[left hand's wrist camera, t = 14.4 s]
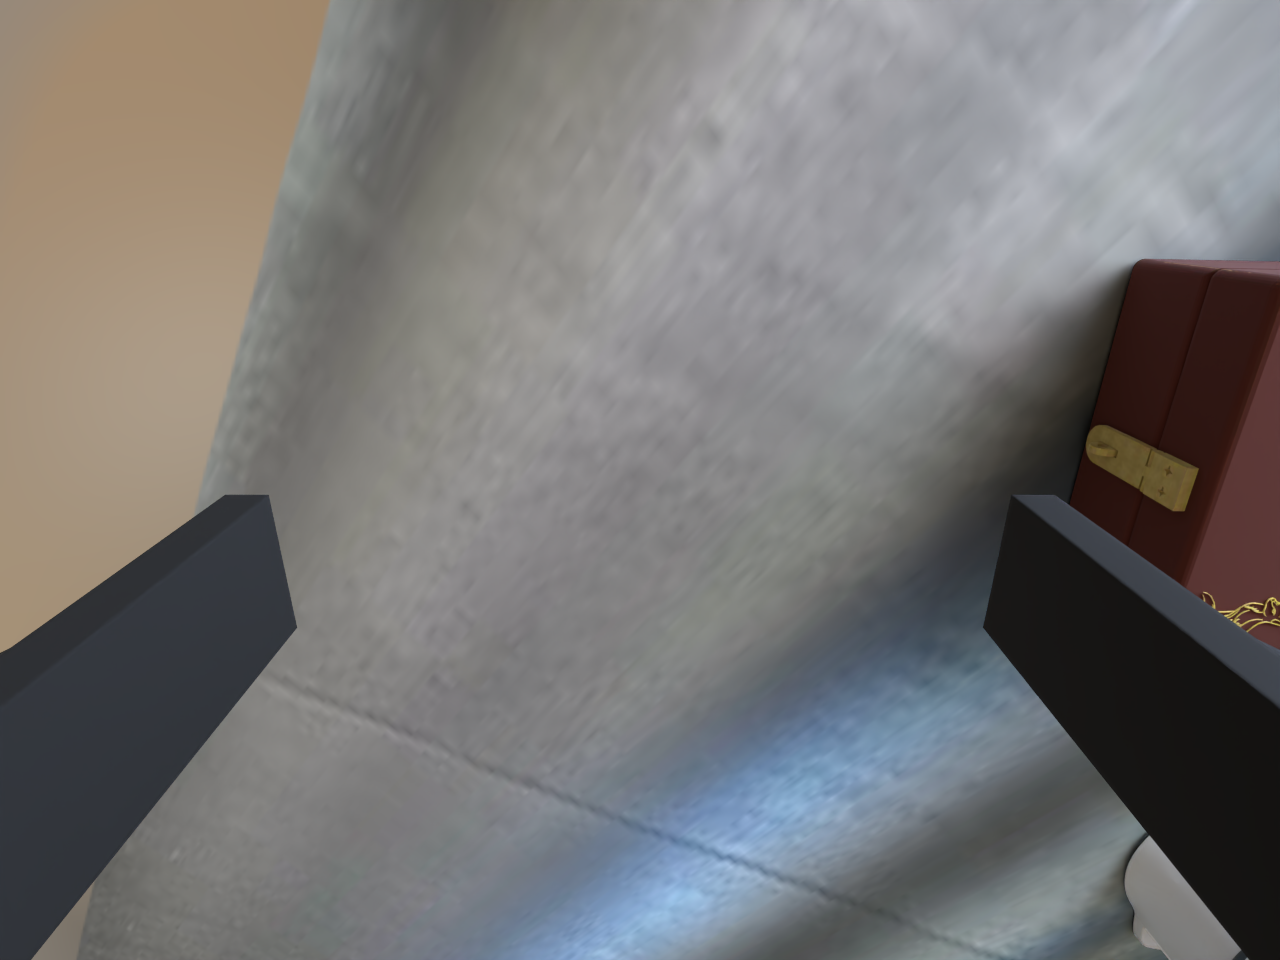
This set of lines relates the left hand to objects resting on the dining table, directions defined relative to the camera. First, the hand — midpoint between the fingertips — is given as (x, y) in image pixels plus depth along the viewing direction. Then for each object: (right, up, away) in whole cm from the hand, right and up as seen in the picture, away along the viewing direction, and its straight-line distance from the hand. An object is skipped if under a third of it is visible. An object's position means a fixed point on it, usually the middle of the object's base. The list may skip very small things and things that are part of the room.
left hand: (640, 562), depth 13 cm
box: (+34, +4, +31) cm, 47 cm away
